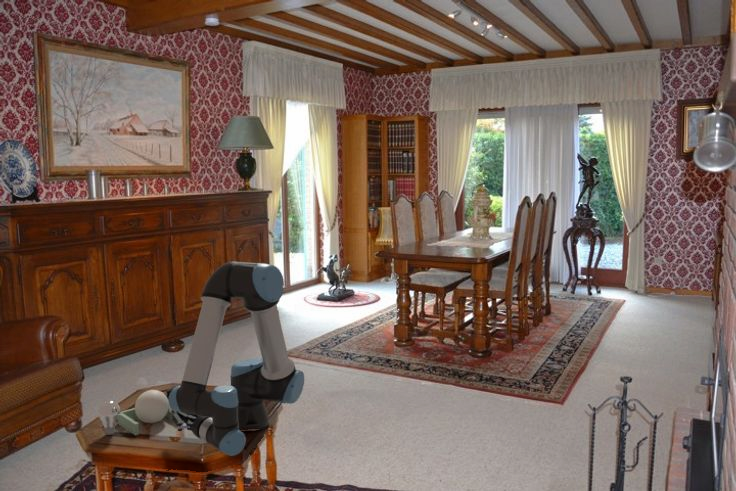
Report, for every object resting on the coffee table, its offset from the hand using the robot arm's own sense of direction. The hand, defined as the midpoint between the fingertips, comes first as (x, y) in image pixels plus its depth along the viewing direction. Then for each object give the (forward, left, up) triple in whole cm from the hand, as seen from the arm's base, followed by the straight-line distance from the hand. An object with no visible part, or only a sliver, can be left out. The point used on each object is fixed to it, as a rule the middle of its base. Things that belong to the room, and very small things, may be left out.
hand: (171, 407), depth 208 cm
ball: (+16, -7, -5) cm, 18 cm away
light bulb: (+20, +8, -11) cm, 24 cm away
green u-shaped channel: (+15, -6, -11) cm, 20 cm away
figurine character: (+17, -24, -11) cm, 32 cm away
